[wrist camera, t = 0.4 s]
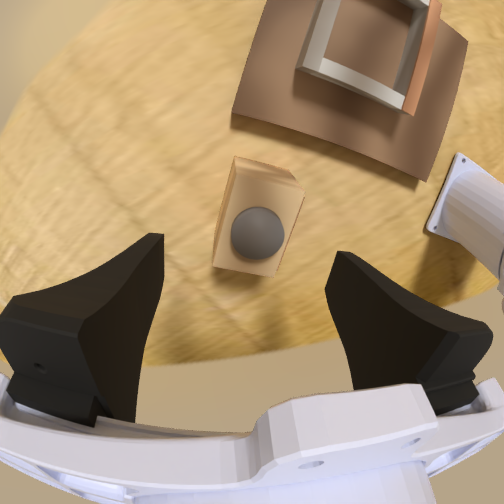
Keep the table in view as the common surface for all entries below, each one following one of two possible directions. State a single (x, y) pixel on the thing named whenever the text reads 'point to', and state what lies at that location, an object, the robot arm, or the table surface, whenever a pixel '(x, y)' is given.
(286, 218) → the knob block
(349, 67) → the board
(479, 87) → the table surface
